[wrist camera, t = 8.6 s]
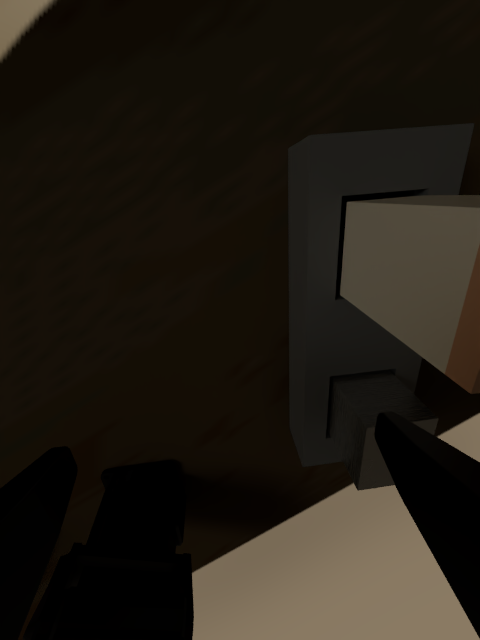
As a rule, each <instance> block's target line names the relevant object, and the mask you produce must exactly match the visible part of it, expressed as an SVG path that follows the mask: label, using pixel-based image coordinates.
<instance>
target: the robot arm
mask: <svg viewBox="0 0 480 640" xmlns="http://www.w3.org/2000/svg"><path fill="white" fill-rule="evenodd" d="M374 436H375V440H376V443H377V445H378V447H379V450H380V452H381V454H382V456H383V459H384V461H385V463H386V466H387V468H388V470H389V472H390V475H391V477H392V479H393V481H394V484H395V486H396V488H397V490H398V492H399V494H400V496H401V498H402V500H403V502H404V504H405V505H406V507H407V509H408V511H409V513H410V514H411V516H412V518H413V520H414V522H415V523H416V525H417V527H418V529H419V531H420V532H421V534H422V536H423V538H424V540H425V541H426V543H427V545H428V547H429V548H430V550H431V552H432V554H433V556H434V557H435V559H436V561H437V563H438V565H439V566H440V568H441V570H442V572H443V574H444V575H445V577H446V578H447V581H448V583H449V584H450V586H451V588H452V590H453V591H454V593H455V595H456V597H457V599H458V600H459V602H460V604H461V606H462V608H463V609H464V611H465V613H466V615H467V616H468V618H469V620H470V622H471V623H472V626H473V627H474V629H475V631H476V632H477V635H478V636H479V638H480V462H478V461H476V460H475V459H473V458H471V457H470V456H468V455H466V454H464V453H463V452H461V451H459V450H458V449H456V448H454V447H453V446H451V445H449V444H448V443H446V442H444V441H442V440H441V439H439V438H437V437H436V436H434V435H432V434H431V433H429V432H427V431H426V430H424V429H422V428H421V427H419V426H417V425H415V424H414V423H412V422H410V421H409V420H407V419H405V418H404V417H402V416H400V415H399V414H397V413H395V412H392V411H390V412H381V413H379V414H378V416H377V421H376V426H375V432H374ZM76 476H77V465H76V462H75V460H74V458H73V455H72V453H71V451H70V449H69V448H68V447H66V446H64V447H54V448H51V449H50V450H48V451H47V452H46V453H44V454H43V455H42V456H41V457H39V458H38V459H37V460H36V461H34V462H33V463H32V464H31V465H29V466H28V467H27V468H26V469H24V470H23V471H22V472H21V473H19V474H18V475H17V476H16V477H14V478H13V479H12V480H11V481H9V482H8V483H7V484H6V485H4V486H3V487H2V488H1V489H0V640H18V637H19V635H20V632H21V630H22V627H23V625H24V622H25V620H26V617H27V615H28V612H29V610H30V607H31V604H32V602H33V599H34V597H35V594H36V592H37V589H38V587H39V584H40V582H41V579H42V577H43V574H44V572H45V569H46V567H47V564H48V562H49V559H50V557H51V554H52V552H53V549H54V546H55V544H56V541H57V539H58V536H59V533H60V530H61V527H62V524H63V520H64V517H65V513H66V510H67V507H68V503H69V500H70V496H71V493H72V490H73V486H74V483H75V480H76ZM101 480H102V482H103V485H104V487H105V489H106V490H105V493H104V495H103V498H102V501H101V504H100V507H99V509H98V512H97V515H96V518H95V521H94V524H93V526H92V529H91V532H90V535H89V538H88V541H87V543H86V545H82V543H74V544H73V547H72V549H71V551H70V553H68V554H66V555H64V556H61V557H60V559H59V561H58V564H57V566H56V568H55V571H54V573H53V576H52V578H51V580H50V583H49V585H48V587H47V589H46V591H45V593H44V595H43V597H42V599H41V601H40V603H39V605H38V607H37V609H36V611H35V612H34V614H33V616H32V618H31V620H30V622H29V624H28V626H27V629H26V631H25V634H24V636H23V640H192V636H193V620H194V611H193V589H192V568H191V554H187V553H184V554H183V555H182V554H175V550H176V546H180V545H181V544H182V542H183V534H184V521H185V508H186V494H185V490H184V486H183V482H182V480H181V479H179V478H178V474H177V470H176V466H175V463H174V462H172V461H165V462H157V463H150V464H143V465H136V466H129V467H121V468H114V469H107V470H104V471H103V472H102V475H101Z"/></svg>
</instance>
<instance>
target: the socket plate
mask: <svg viewBox="0 0 480 640" xmlns="http://www.w3.org/2000/svg"><path fill="white" fill-rule="evenodd" d="M473 127H474V123H470V124H456V125H443V126H429V127H415V128H401V129H388V130H374V131H360V132H347V133H333V134H319V135H310V136H308V137H306V138H305V139H303V140H301V141H300V142H298V143H296V144H295V145H293V146H291V147H290V148H288V209H289V404H290V431H291V434H292V437H293V440H294V443H295V445H296V448H297V451H298V454H299V457H300V460H301V463H302V466H303V467H306V466H313V465H320V464H327V463H334V462H341V461H343V460H342V458H341V456H340V454H339V452H338V450H337V448H336V446H335V444H334V442H333V440H332V438H331V436H330V434H329V432H328V430H327V413H328V398H329V383H330V377H331V376H339V375H347V374H355V373H363V372H371V371H379V370H387V369H388V370H389V371H390V372H391V373H392V374H393V375H395V376H396V377H397V378H398V379H399V380H400V381H401V382H402V383H403V384H404V385H405V386H406V387H407V388H408V389H409V390H410V391H411V392H412V393H413V394H414V392H415V388H416V383H417V379H418V374H419V370H420V365H421V361H422V357H421V356H420V355H419V354H417V353H416V352H415V351H414V350H412V349H411V348H410V347H408V346H407V345H406V344H404V343H403V342H402V341H400V340H399V339H398V338H396V337H395V336H394V335H392V334H391V333H390V332H388V331H387V330H386V329H385V328H383V327H382V326H381V325H379V324H378V323H377V322H375V321H374V320H373V319H371V318H370V317H369V316H367V315H366V314H365V313H363V312H362V311H361V310H359V309H358V308H357V307H356V306H354V305H353V304H352V303H350V302H349V301H348V300H346V299H345V298H344V297H342V296H341V295H340V288H341V278H340V279H336V278H337V263H338V248H339V233H340V218H341V203H342V196H348V195H359V194H371V193H383V192H384V199H386V198H397V197H409V196H420V195H459V190H460V186H461V181H462V177H463V172H464V168H465V163H466V159H467V154H468V150H469V145H470V141H471V136H472V132H473Z"/></svg>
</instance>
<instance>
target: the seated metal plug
mask: <svg viewBox="0 0 480 640" xmlns="http://www.w3.org/2000/svg"><path fill="white" fill-rule="evenodd" d="M390 411H392V412H395V413H397V414H399V415H400V416H402V417H404V418H405V419H407V420H409V421H410V422H412V423H414V424H415V425H417V426H419V427H421V428H422V429H424V430H426V431H427V432H429V433H431V434H432V435H434V433H435V430H436V426H437V422H438V419H439V418H438V417H437V416H436V415H435V414H434V413H433V412H432V411H431V410H429V409H428V408H427V407H426V406H425V405H424V404H423V403H422V402H421V401H420V400H419V399H418V398H417V397H416V396H415V395H414V394H413V393H412V392H411V391H410V390H409V389H408V388H407V387H406V386H405V385H404V384H403V383H402V382H401V381H400V380H399V379H398V378H397V377H396V376H395V375H393V374H392V373H391V372H390V371H389V370H388V369H387V370H379V371H371V372H363V373H355V374H347V375H339V376H331V377H330V383H329V398H328V413H327V430H328V432H329V434H330V436H331V438H332V440H333V442H334V444H335V446H336V448H337V450H338V452H339V454H340V456H341V458H342V460H343V462H344V464H345V466H346V468H347V470H348V472H349V474H350V476H351V478H352V480H353V482H354V484H355V486H356V488H357V490H364V489H371V488H378V487H384V486H391V485H395V484H394V481H393V479H392V477H391V475H390V472H389V470H388V468H387V466H386V463H385V461H384V459H383V456H382V454H381V452H380V450H379V447H378V445H377V443H376V440H375V436H374V432H375V426H376V421H377V416H378V414H379V413H381V412H390Z"/></svg>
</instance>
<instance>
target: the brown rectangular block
mask: <svg viewBox="0 0 480 640" xmlns="http://www.w3.org/2000/svg"><path fill="white" fill-rule="evenodd" d="M340 295H341V296H342V297H344V298H345V299H346V300H348V301H349V302H350V303H352V304H353V305H354V306H356V307H357V308H358V309H359V310H361V311H362V312H363V313H365V314H366V315H367V316H369V317H370V318H371V319H373V320H374V321H375V322H377V323H378V324H379V325H381V326H382V327H383V328H385V329H386V330H387V331H388V332H390V333H391V334H392V335H394V336H395V337H396V338H398V339H399V340H400V341H402V342H403V343H404V344H406V345H407V346H408V347H410V348H411V349H412V350H414V351H415V352H416V353H417V354H419V355H420V356H421V357H423V358H424V359H425V360H427V361H428V362H429V363H431V364H432V365H433V366H435V367H436V368H437V369H439V370H440V371H441V372H443V373H444V374H445V375H446V376H448V377H449V378H450V379H452V380H453V381H454V382H456V383H457V384H458V385H460V386H461V387H462V388H464V389H465V390H466V391H468V392H469V393H470V394H475V393H480V195H420V196H409V197H397V198H386V199H375V200H363V201H352V202H347V207H346V221H345V234H344V248H343V261H342V275H341V288H340Z"/></svg>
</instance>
